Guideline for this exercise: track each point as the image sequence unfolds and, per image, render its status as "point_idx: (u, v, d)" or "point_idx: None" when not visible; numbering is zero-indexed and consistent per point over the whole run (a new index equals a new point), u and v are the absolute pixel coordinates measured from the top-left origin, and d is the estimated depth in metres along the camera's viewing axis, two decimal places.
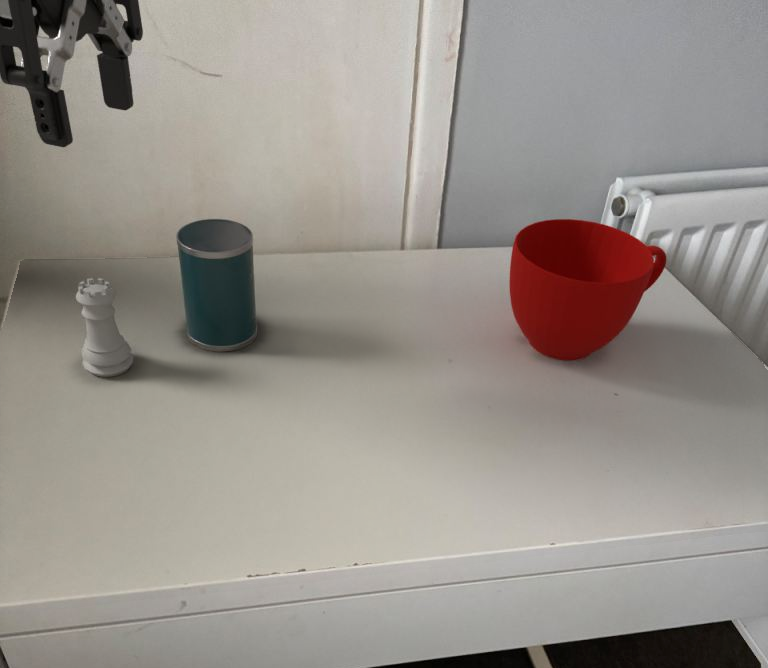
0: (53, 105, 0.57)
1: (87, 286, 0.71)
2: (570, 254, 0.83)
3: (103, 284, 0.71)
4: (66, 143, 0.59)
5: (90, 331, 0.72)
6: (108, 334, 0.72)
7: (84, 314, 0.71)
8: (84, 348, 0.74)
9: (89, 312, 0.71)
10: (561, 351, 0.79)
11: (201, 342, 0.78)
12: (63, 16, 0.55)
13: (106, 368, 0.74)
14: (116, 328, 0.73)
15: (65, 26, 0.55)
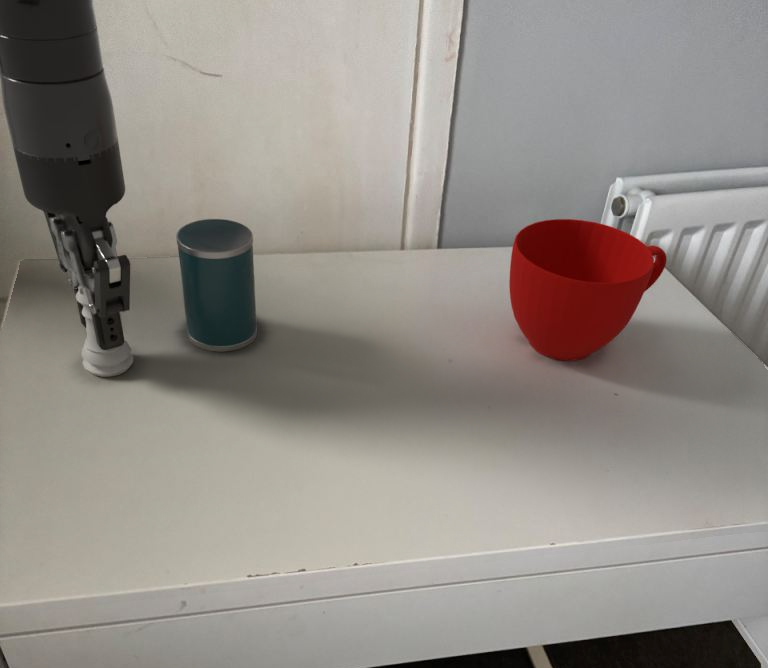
0: None
1: None
2: (570, 254, 0.83)
3: None
4: (123, 342, 0.73)
5: (90, 331, 0.72)
6: None
7: (84, 314, 0.71)
8: (84, 348, 0.74)
9: (89, 312, 0.71)
10: (561, 351, 0.79)
11: (201, 342, 0.78)
12: None
13: (106, 368, 0.74)
14: None
15: None
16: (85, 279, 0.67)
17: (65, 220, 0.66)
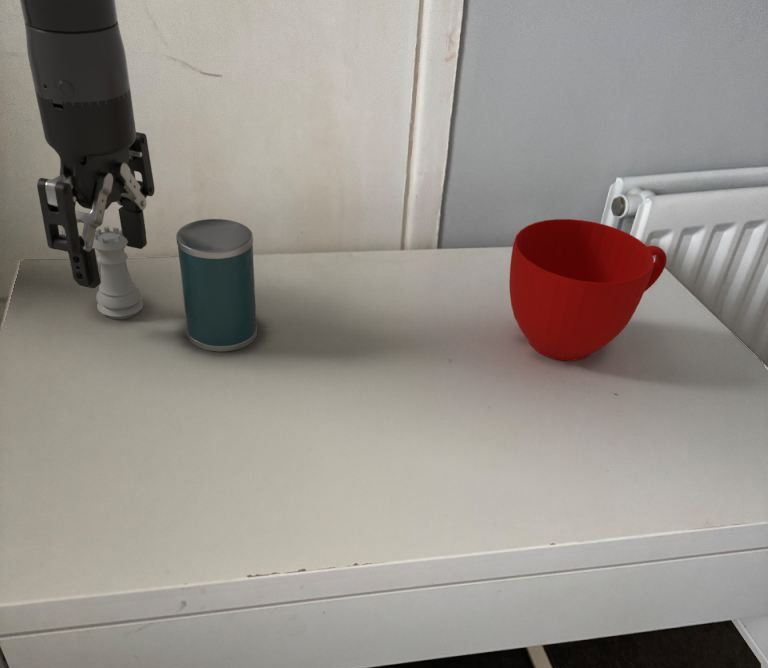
0: (86, 260, 0.74)
1: (108, 232, 0.78)
2: (570, 254, 0.83)
3: (120, 236, 0.78)
4: (96, 286, 0.76)
5: (101, 270, 0.80)
6: (108, 279, 0.79)
7: (99, 254, 0.79)
8: None
9: None
10: (561, 351, 0.79)
11: (201, 342, 0.78)
12: (95, 196, 0.72)
13: (104, 307, 0.81)
14: (121, 278, 0.80)
15: (96, 204, 0.72)
16: None
17: None
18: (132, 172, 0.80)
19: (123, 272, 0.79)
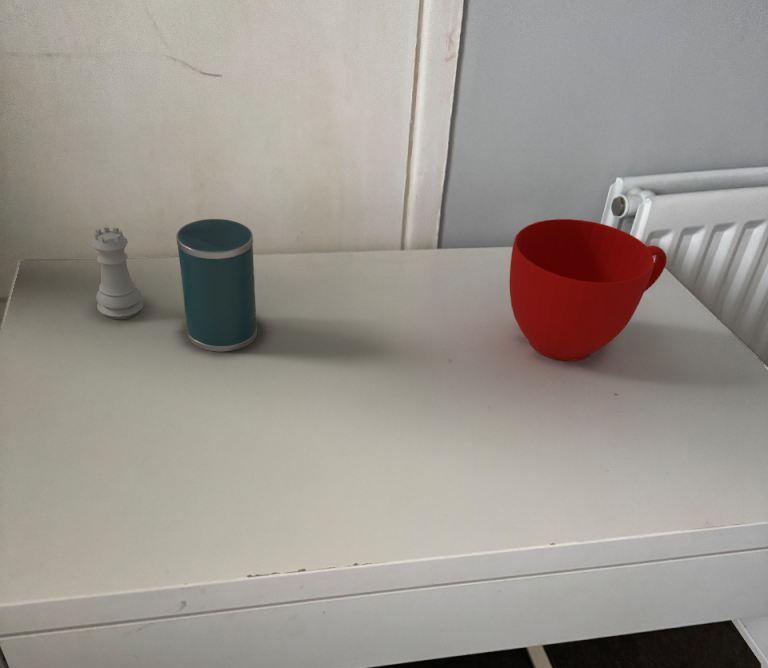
0: None
1: (108, 232, 0.78)
2: (570, 254, 0.83)
3: (120, 236, 0.78)
4: None
5: (101, 270, 0.80)
6: (108, 279, 0.79)
7: (99, 254, 0.79)
8: None
9: None
10: (561, 351, 0.79)
11: (201, 342, 0.78)
12: None
13: (104, 307, 0.81)
14: (121, 278, 0.80)
15: None
16: None
17: None
18: None
19: (123, 272, 0.79)
